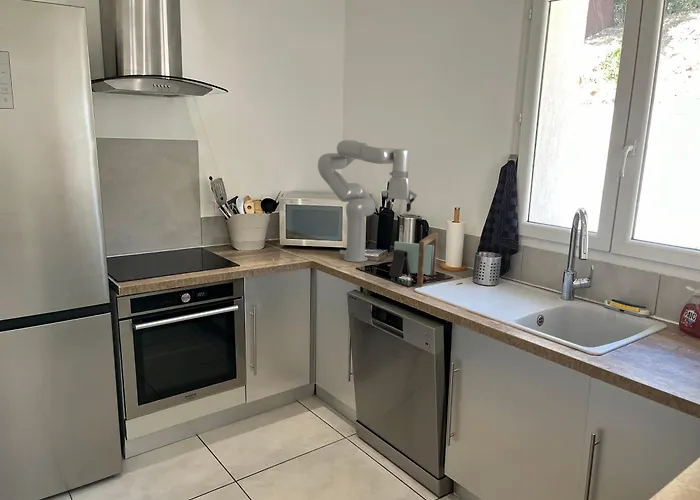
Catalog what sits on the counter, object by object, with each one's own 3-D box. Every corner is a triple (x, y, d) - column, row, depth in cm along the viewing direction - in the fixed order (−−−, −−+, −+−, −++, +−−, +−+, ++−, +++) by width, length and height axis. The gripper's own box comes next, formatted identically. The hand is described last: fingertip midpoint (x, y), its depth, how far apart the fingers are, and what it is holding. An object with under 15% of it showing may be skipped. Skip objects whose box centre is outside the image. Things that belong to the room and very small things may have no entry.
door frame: (416, 286, 230) (419, 241, 226) (431, 273, 253) (434, 232, 249) (421, 287, 230) (423, 241, 225) (435, 274, 253) (438, 232, 248)
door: (432, 274, 249) (434, 245, 246) (431, 275, 248) (433, 246, 245) (394, 269, 256) (395, 241, 254) (393, 270, 255) (394, 241, 252)
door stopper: (398, 278, 243) (399, 252, 240) (388, 275, 247) (389, 250, 244) (410, 275, 249) (411, 250, 247) (400, 272, 253) (401, 248, 251)
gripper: (380, 174, 254) (379, 210, 258) (415, 176, 248) (413, 213, 251) (385, 173, 261) (384, 208, 264) (419, 175, 254) (417, 211, 258)
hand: (398, 210), depth 258 cm, fingers open, 9 cm apart
